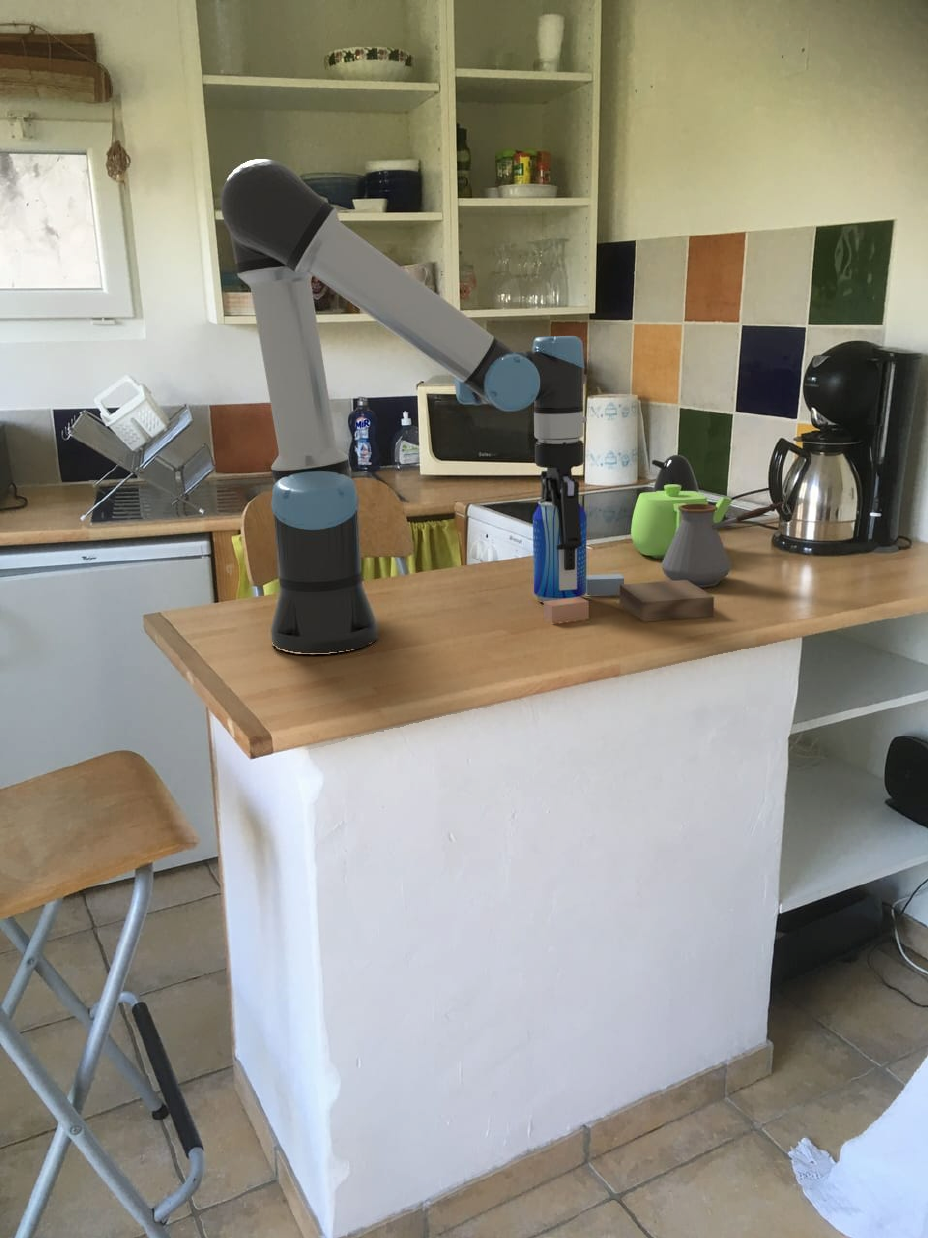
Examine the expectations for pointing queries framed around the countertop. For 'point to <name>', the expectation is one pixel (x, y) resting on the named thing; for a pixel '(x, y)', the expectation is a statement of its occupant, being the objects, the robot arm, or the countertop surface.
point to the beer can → (554, 554)
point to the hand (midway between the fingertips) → (559, 581)
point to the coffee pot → (702, 545)
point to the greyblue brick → (604, 584)
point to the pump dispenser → (675, 474)
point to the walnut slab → (666, 600)
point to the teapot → (665, 517)
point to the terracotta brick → (566, 610)
